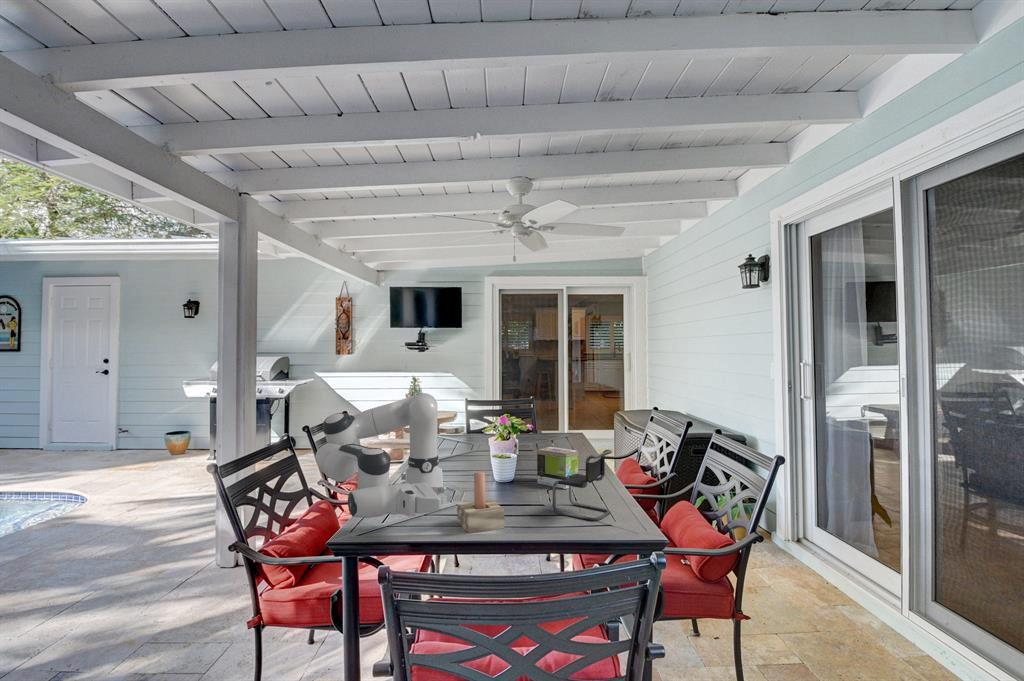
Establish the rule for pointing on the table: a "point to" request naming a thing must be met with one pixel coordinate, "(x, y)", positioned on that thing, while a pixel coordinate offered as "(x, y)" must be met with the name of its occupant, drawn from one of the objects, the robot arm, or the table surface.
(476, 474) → the dowel
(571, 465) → the tea box
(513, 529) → the table surface
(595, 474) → the chair
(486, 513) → the socket block
